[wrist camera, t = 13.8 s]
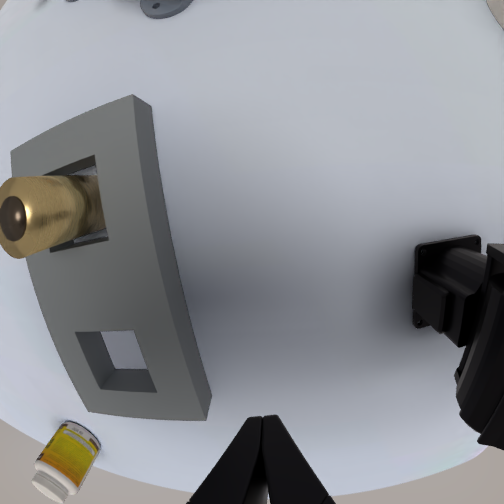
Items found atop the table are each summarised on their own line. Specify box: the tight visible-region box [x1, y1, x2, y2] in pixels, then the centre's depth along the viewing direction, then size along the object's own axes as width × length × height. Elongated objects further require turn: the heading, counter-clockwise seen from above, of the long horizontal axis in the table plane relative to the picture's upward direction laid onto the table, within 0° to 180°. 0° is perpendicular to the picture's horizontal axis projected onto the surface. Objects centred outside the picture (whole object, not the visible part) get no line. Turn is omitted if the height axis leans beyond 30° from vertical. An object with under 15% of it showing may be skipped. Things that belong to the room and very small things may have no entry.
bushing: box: [0, 175, 106, 259], centre depth 14 cm, size 4×4×8 cm
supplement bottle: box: [32, 422, 100, 504], centre depth 19 cm, size 6×6×10 cm
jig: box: [11, 94, 212, 421], centre depth 18 cm, size 11×22×3 cm, turn 9°
